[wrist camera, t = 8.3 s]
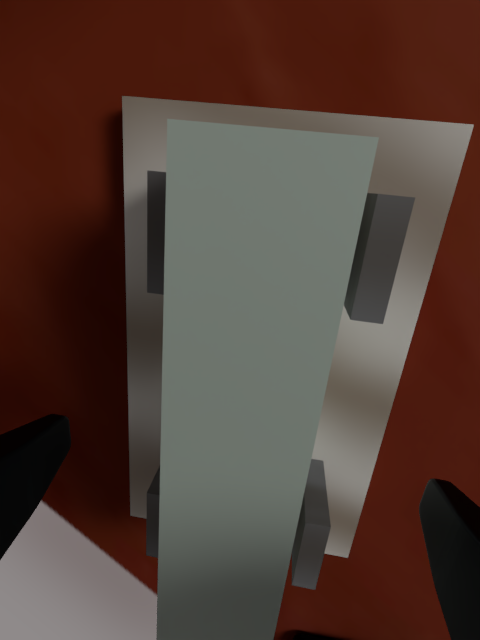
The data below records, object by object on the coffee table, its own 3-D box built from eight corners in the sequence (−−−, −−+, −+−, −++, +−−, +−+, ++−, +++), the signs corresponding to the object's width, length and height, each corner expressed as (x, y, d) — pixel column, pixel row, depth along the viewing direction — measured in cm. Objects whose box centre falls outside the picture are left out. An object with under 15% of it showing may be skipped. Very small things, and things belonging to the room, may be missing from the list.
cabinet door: (267, 515, 16) (250, 750, 9) (211, 505, 16) (154, 726, 9) (325, 167, 11) (379, 137, 4) (241, 159, 11) (167, 118, 4)
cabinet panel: (344, 537, 17) (359, 636, 13) (138, 498, 18) (98, 581, 14) (458, 130, 11) (546, 99, 7) (135, 103, 12) (62, 63, 8)
